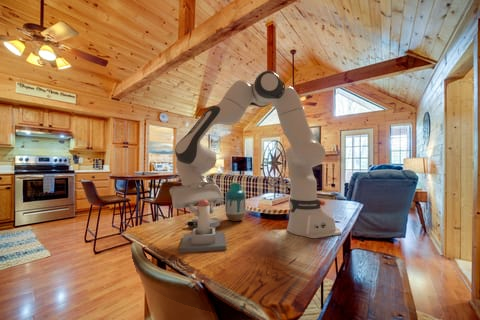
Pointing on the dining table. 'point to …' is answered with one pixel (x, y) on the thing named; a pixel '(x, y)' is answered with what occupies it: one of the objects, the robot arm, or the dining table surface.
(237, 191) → the vase
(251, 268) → the dining table surface
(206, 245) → the jig
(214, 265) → the dining table surface
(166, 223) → the dining table surface
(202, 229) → the pink-topped post
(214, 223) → the robot toy
